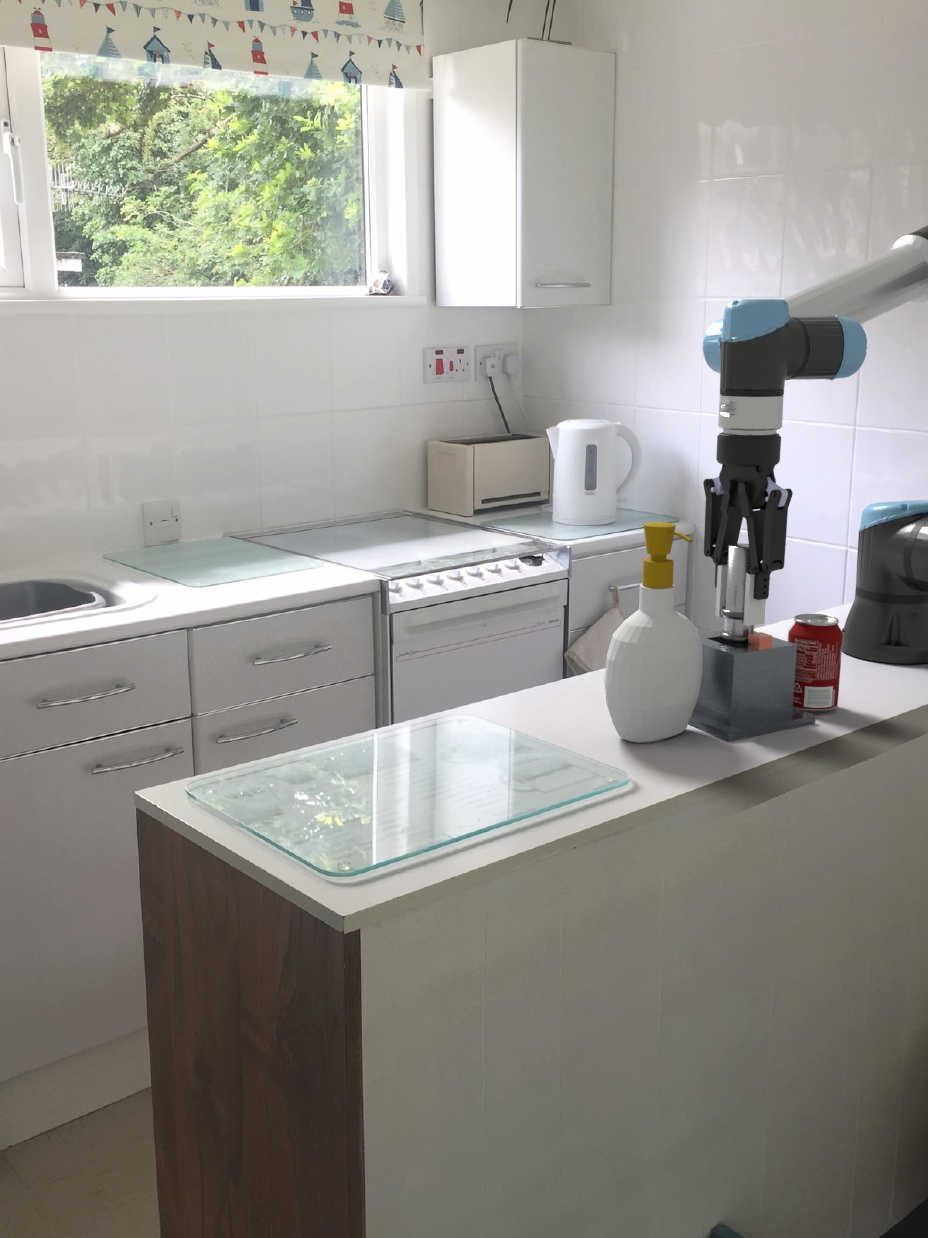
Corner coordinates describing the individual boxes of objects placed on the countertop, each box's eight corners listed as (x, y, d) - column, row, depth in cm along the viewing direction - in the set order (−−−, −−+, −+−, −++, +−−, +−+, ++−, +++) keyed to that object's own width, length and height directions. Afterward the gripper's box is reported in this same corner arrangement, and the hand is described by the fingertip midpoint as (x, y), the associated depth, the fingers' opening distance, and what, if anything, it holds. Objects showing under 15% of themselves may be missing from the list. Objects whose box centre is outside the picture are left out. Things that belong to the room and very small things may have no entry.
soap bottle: (639, 758, 139) (646, 534, 133) (585, 738, 146) (590, 524, 140) (722, 734, 147) (733, 522, 141) (668, 715, 154) (676, 513, 148)
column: (736, 699, 157) (745, 541, 152) (761, 708, 153) (770, 547, 148) (709, 704, 154) (716, 544, 150) (733, 714, 150) (741, 550, 146)
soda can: (839, 717, 153) (846, 625, 151) (784, 714, 155) (790, 623, 152) (834, 701, 160) (841, 613, 157) (782, 698, 161) (787, 611, 158)
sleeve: (739, 694, 163) (744, 610, 160) (815, 723, 151) (821, 633, 148) (656, 709, 157) (659, 623, 154) (728, 741, 145) (733, 647, 142)
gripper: (678, 427, 151) (671, 609, 157) (776, 438, 136) (765, 638, 142) (725, 425, 155) (716, 602, 160) (826, 435, 140) (813, 631, 145)
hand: (739, 619), depth 151 cm, fingers closed on column, 5 cm apart
